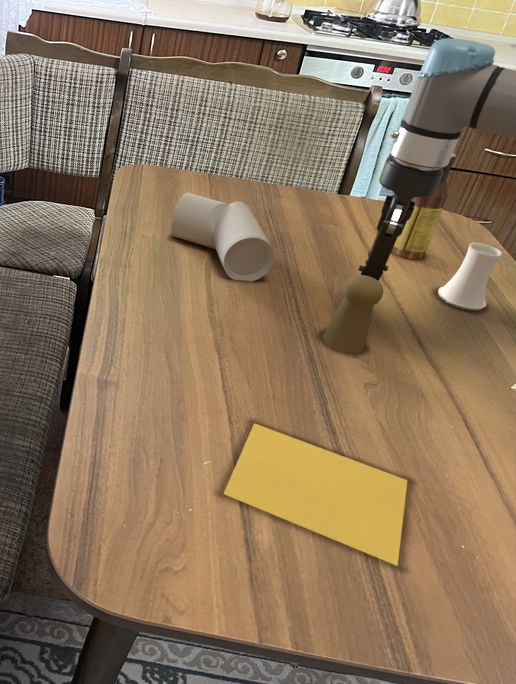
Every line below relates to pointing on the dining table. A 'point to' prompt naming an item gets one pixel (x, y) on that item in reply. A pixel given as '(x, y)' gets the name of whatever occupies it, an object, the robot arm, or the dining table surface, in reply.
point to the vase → (471, 278)
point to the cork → (353, 314)
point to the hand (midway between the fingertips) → (357, 307)
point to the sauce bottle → (422, 221)
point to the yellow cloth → (321, 492)
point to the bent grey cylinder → (225, 234)
